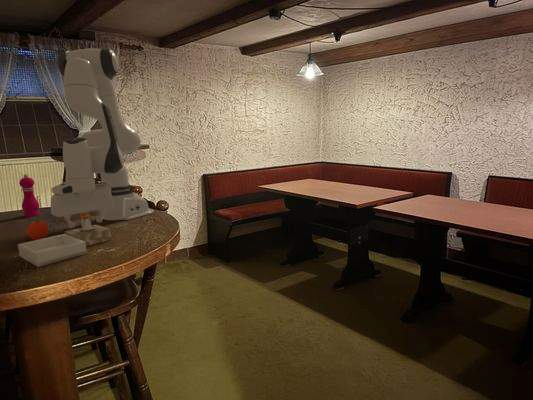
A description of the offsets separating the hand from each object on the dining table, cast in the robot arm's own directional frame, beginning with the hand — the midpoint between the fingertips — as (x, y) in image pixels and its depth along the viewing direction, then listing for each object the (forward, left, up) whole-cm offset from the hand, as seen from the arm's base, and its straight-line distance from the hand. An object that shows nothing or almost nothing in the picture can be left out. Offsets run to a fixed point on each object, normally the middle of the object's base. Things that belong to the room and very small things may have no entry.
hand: (86, 224), depth 133 cm
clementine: (+10, -19, -6) cm, 22 cm away
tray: (+14, +6, -6) cm, 16 cm away
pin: (0, 0, -6) cm, 6 cm away
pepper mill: (-4, -69, -6) cm, 69 cm away
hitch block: (0, 0, -6) cm, 6 cm away
